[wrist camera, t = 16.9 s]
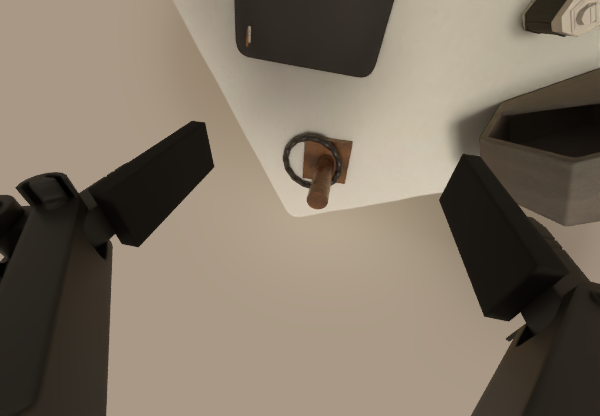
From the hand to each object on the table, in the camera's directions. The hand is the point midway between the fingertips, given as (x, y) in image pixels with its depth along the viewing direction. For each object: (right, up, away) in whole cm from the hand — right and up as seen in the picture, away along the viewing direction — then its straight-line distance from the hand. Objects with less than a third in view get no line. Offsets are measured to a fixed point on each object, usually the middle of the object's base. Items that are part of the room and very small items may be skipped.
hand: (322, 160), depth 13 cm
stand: (+4, +6, +32) cm, 32 cm away
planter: (+33, +11, +21) cm, 40 cm away
